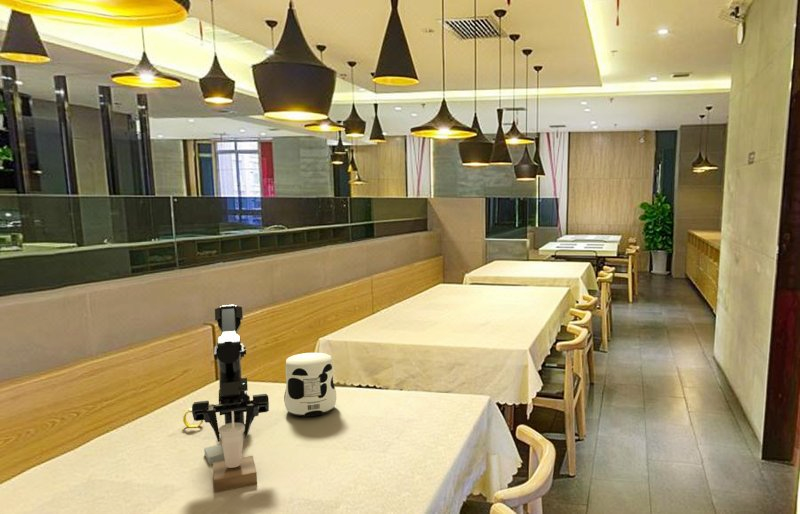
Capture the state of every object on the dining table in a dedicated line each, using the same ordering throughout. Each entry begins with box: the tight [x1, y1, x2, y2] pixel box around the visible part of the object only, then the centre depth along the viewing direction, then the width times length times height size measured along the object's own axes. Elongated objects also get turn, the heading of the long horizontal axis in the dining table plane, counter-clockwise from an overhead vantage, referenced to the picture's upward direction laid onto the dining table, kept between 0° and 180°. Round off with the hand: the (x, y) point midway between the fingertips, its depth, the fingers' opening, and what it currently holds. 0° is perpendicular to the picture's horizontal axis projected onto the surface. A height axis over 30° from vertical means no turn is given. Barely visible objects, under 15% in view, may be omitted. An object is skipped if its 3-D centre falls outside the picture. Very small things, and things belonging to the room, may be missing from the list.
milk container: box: [283, 352, 337, 417], centre depth 183 cm, size 17×17×18 cm
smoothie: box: [218, 411, 245, 468], centre depth 138 cm, size 6×6×14 cm
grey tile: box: [203, 443, 225, 465], centre depth 151 cm, size 7×7×2 cm
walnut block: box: [212, 455, 258, 493], centre depth 138 cm, size 10×10×3 cm
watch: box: [182, 407, 204, 428], centre depth 173 cm, size 6×3×6 cm, turn 91°
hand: (232, 439), depth 136 cm, fingers closed on smoothie, 6 cm apart
